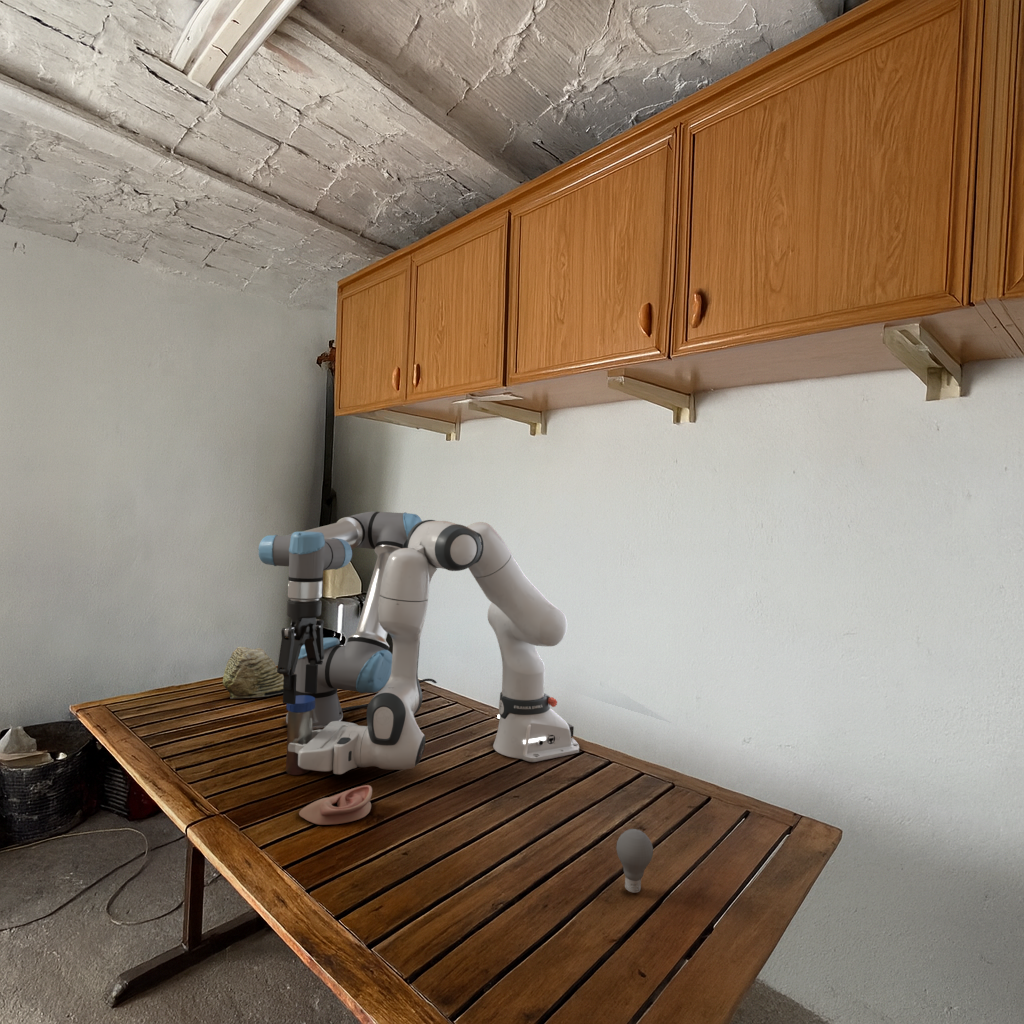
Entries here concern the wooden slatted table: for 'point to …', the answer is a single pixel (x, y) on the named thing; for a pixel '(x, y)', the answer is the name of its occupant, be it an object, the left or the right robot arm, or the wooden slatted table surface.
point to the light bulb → (634, 857)
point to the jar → (298, 738)
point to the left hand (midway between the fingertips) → (300, 697)
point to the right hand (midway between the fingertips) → (295, 740)
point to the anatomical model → (339, 807)
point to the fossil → (252, 674)
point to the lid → (302, 704)
